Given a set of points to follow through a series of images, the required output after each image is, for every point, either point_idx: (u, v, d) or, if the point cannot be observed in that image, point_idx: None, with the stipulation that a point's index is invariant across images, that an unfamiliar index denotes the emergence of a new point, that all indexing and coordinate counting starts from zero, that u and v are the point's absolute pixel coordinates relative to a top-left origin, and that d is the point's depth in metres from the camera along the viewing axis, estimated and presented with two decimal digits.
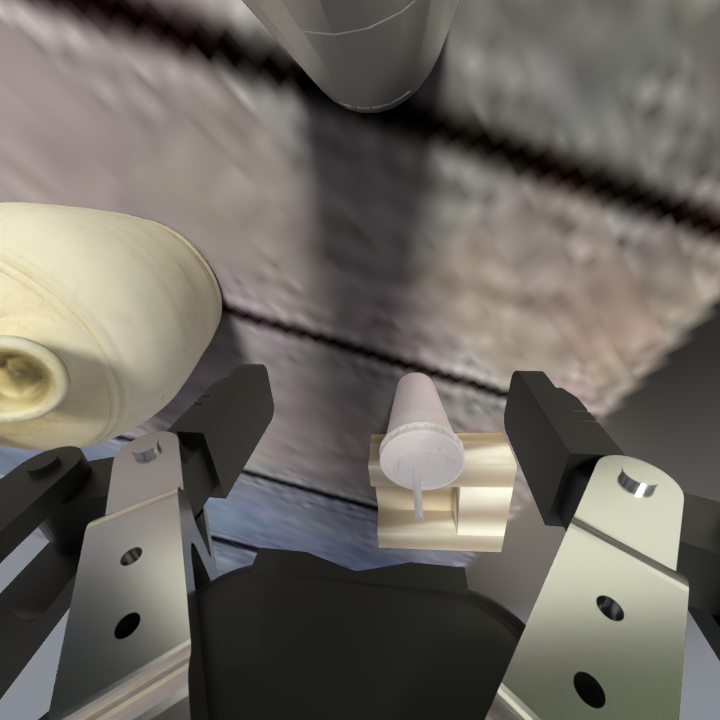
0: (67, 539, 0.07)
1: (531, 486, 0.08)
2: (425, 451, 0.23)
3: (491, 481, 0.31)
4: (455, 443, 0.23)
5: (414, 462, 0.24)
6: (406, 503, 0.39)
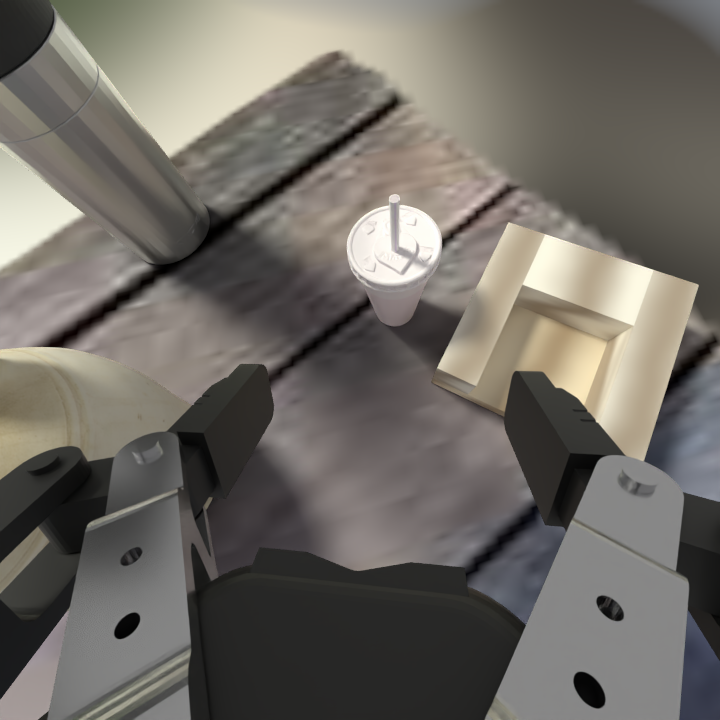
0: (67, 539, 0.07)
1: (531, 486, 0.08)
2: (379, 232, 0.22)
3: (525, 251, 0.26)
4: None
5: (386, 246, 0.21)
6: None
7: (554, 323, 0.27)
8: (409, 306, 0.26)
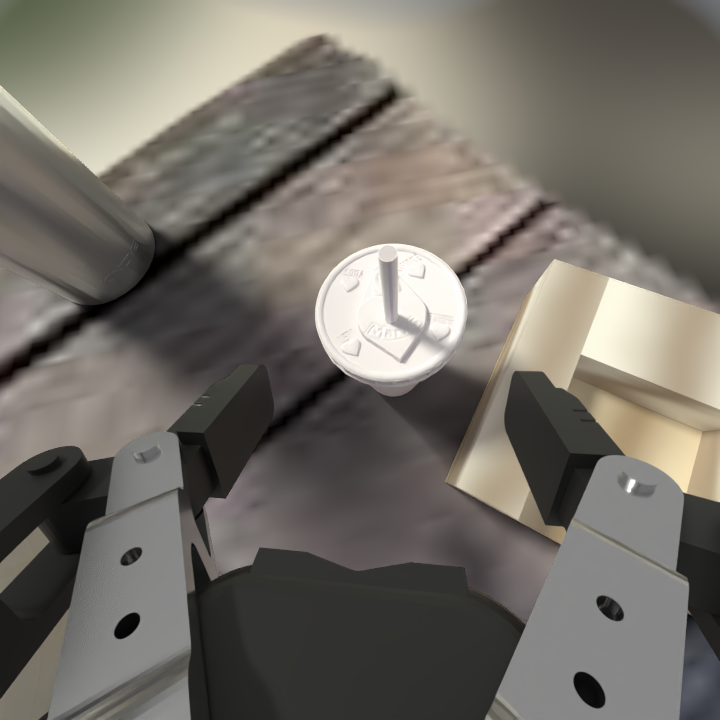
0: (67, 539, 0.07)
1: (531, 486, 0.08)
2: (365, 289, 0.14)
3: (582, 302, 0.18)
4: (373, 246, 0.14)
5: (377, 313, 0.13)
6: None
7: (621, 402, 0.19)
8: (413, 384, 0.17)
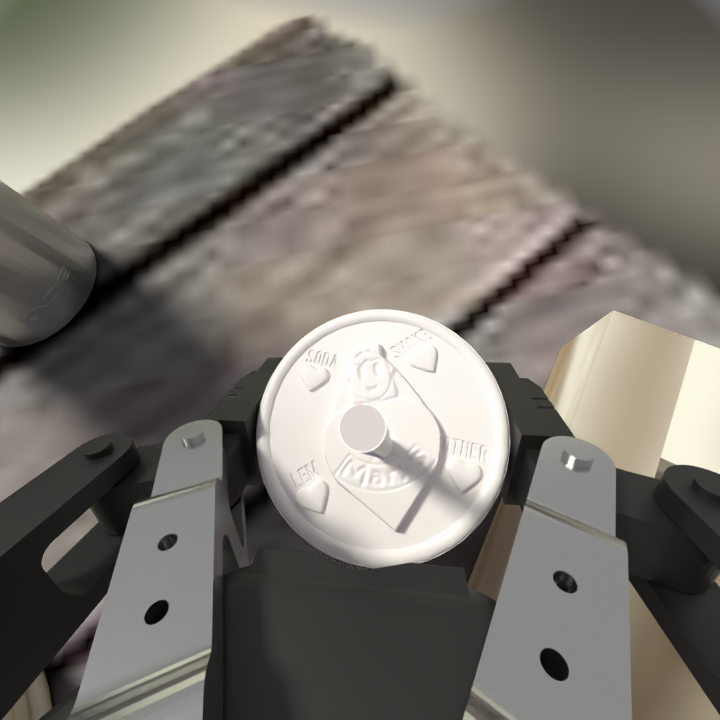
0: (113, 522, 0.07)
1: None
2: (340, 389, 0.08)
3: (657, 376, 0.12)
4: (354, 313, 0.09)
5: None
6: None
7: None
8: None
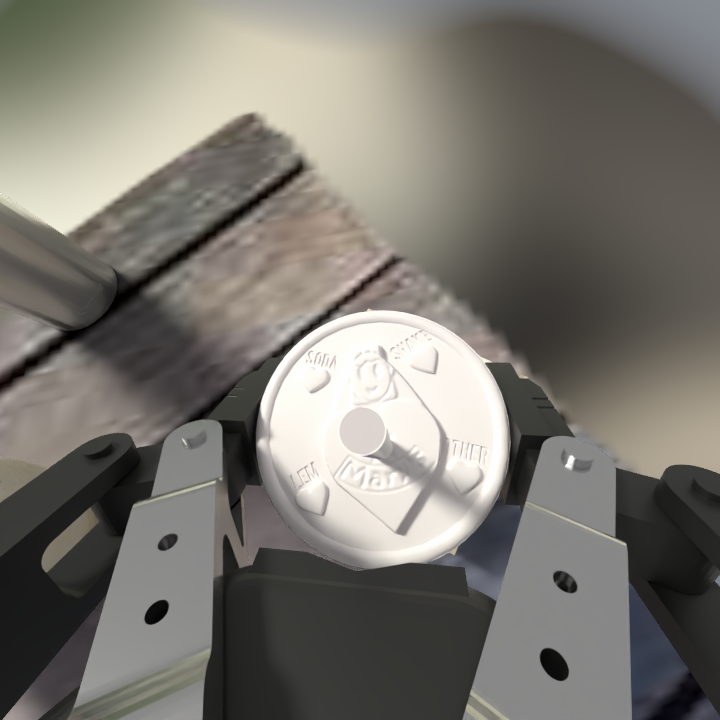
0: (113, 522, 0.07)
1: None
2: (340, 391, 0.08)
3: None
4: (354, 315, 0.09)
5: None
6: None
7: None
8: None
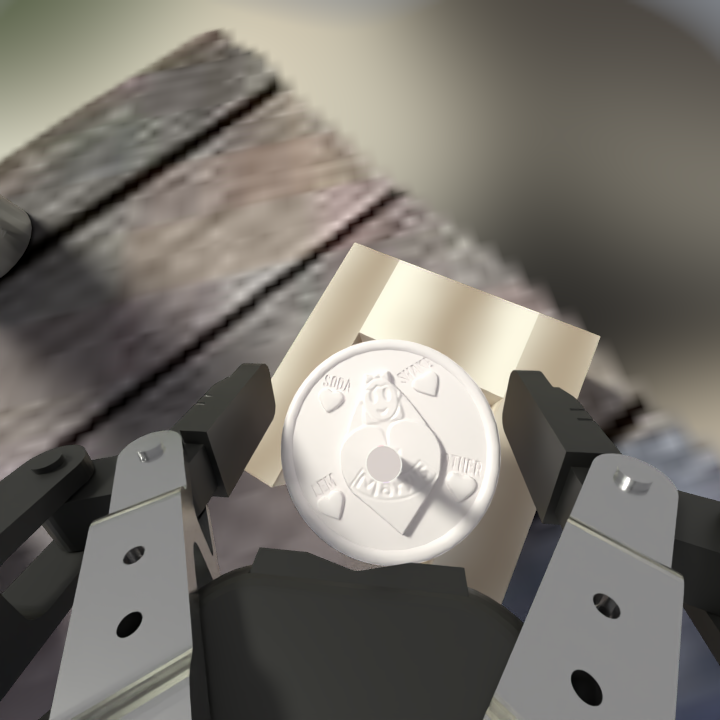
0: (70, 538, 0.07)
1: (528, 485, 0.08)
2: (353, 411, 0.10)
3: (370, 283, 0.18)
4: (365, 343, 0.10)
5: None
6: None
7: None
8: None
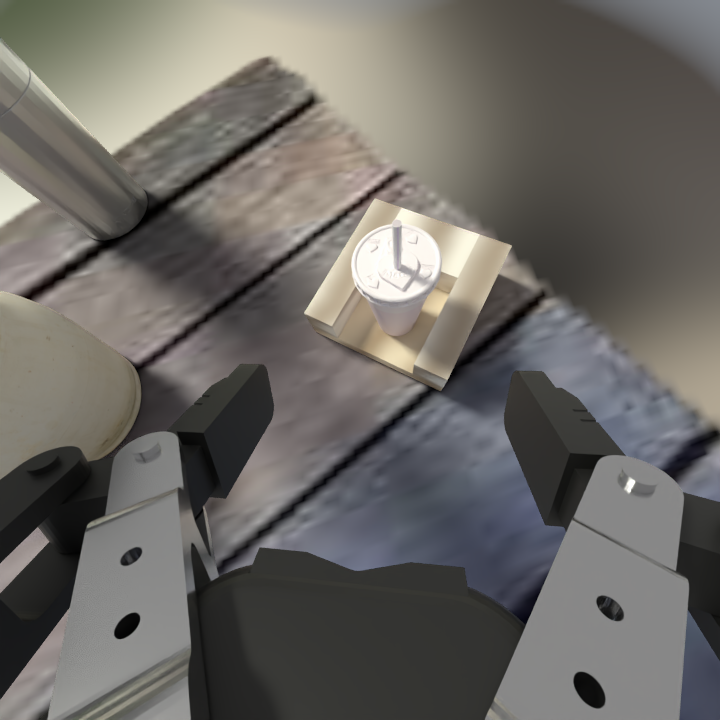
0: (67, 539, 0.07)
1: (531, 487, 0.08)
2: (381, 250, 0.23)
3: (384, 221, 0.31)
4: (386, 225, 0.23)
5: (389, 264, 0.22)
6: (415, 336, 0.31)
7: None
8: (410, 318, 0.27)
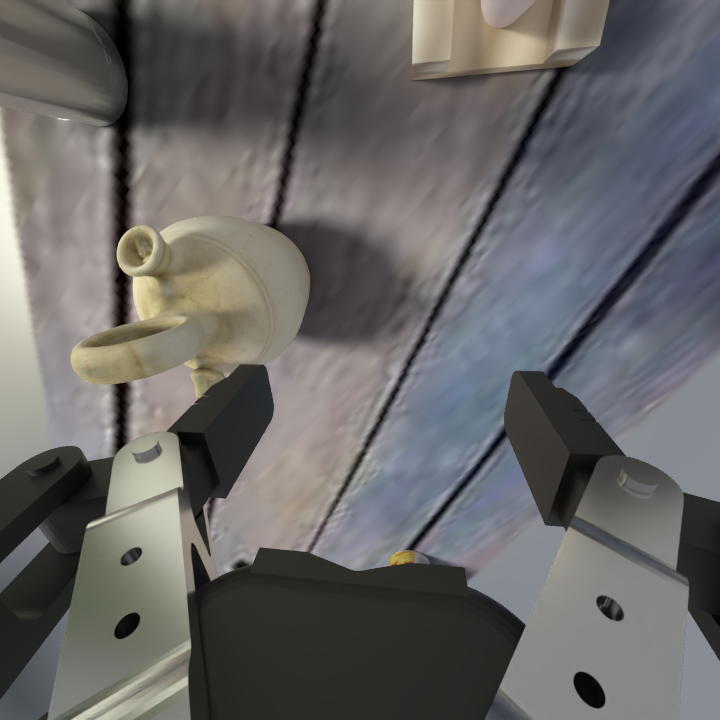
0: (67, 539, 0.07)
1: (531, 486, 0.08)
2: None
3: None
4: None
5: None
6: (534, 8, 0.26)
7: None
8: None
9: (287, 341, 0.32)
